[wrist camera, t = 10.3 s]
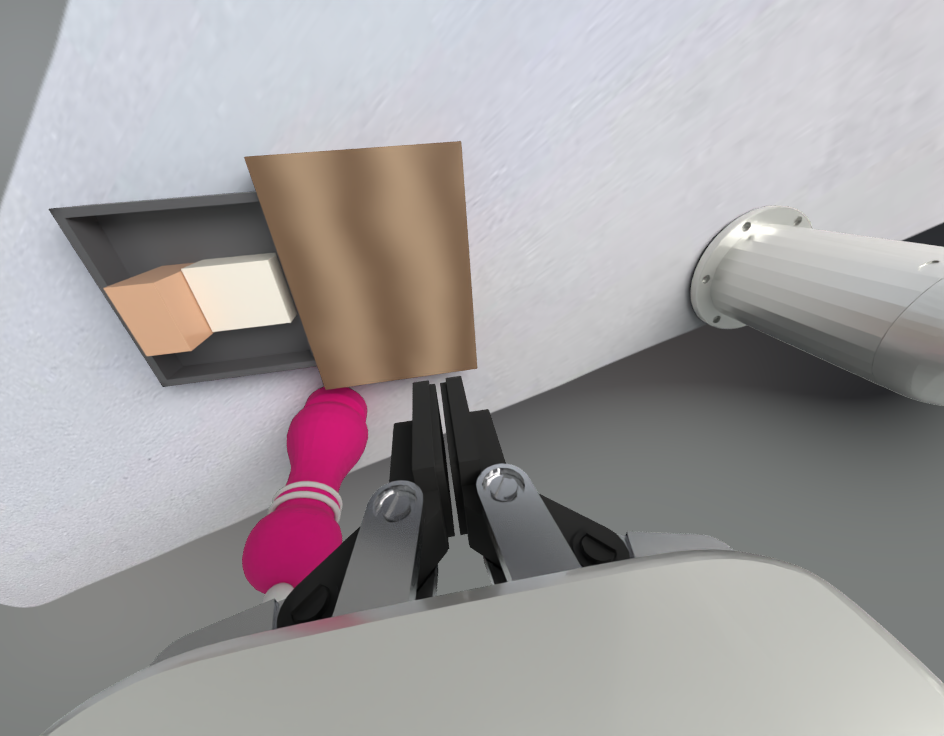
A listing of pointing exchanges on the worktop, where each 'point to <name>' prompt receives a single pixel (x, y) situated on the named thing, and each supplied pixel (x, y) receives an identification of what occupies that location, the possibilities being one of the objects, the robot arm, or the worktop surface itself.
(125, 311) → the tan rectangular block
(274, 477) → the worktop surface
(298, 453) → the pepper mill
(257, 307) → the tile cream
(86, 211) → the bin
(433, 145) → the walnut block
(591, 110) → the worktop surface
